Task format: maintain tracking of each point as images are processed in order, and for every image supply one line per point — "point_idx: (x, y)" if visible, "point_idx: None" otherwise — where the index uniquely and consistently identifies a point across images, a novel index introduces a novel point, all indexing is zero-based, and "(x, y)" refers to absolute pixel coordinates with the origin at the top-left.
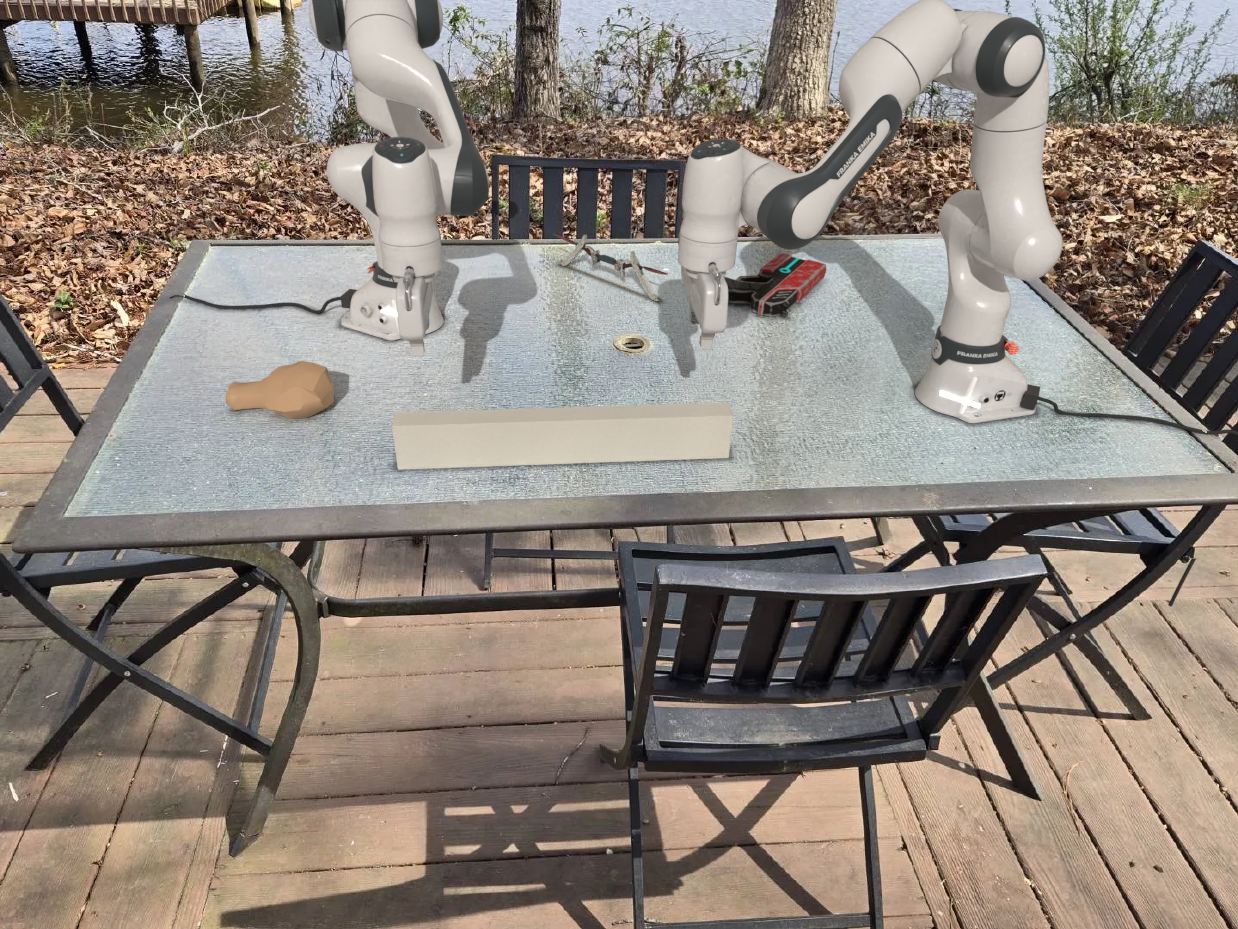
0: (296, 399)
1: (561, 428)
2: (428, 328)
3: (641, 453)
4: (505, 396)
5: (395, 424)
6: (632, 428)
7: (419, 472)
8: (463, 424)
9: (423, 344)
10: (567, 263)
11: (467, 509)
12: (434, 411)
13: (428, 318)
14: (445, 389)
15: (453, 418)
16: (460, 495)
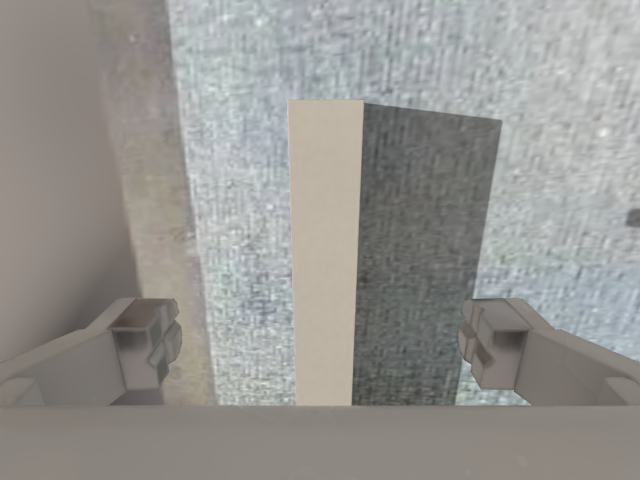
0: None
1: None
2: (459, 347)
3: None
4: (544, 293)
5: (296, 109)
6: None
7: (285, 146)
8: (292, 274)
9: (119, 389)
10: None
11: (172, 239)
12: (357, 206)
13: (501, 388)
14: (612, 176)
15: (318, 252)
16: (212, 226)
